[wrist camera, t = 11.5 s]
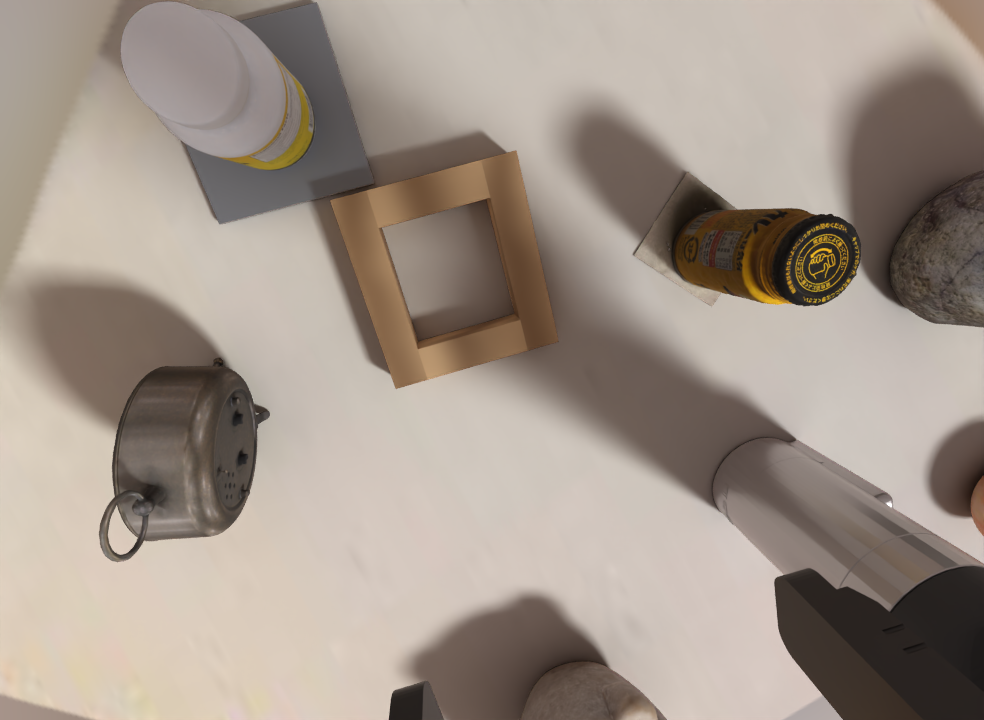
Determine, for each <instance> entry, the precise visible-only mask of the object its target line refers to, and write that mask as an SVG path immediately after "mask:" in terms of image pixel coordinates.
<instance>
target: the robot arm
mask: <svg viewBox="0 0 984 720" xmlns="http://www.w3.org/2000/svg"><path fill="white" fill-rule="evenodd" d="M713 497H714V501H715V504H716V506H717V507H718V509H719V510H720V511H721V512H722V513H723V514H724V515H725V516H726V517H727V518H728V520H729V521H730V522H731V523H732V524H734V525H735V526H736V527H737V528H738V529H739V530H740V531H741V532H742V533H743V534H744V535H745V536H746V538H747V539H748V540H749V541H750V542H751V543H752V544H753V545H754V546H755V547H756V548H757V549H758V550H759V551H760V552H761V553H762V554H763V555H764V556H765V557H766V558H767V559H768V560H769V561H770V562H771V563H772V564H773V565H774V566H775V567H777V568H778V569H779V570H780V571H781V572H782V573H783V574H784V575H783V576H779V577H777V578H776V579H775V582H774V584H775V596H776V607H777V618H778V628H779V632H780V635H781V638H782V640H783V642H784V645H785V646H786V648H787V650H788V652H789V653H790V655H791V656H792V658H793V659H794V660H795V662H796V663H797V664H798V665H799V667H800V668H801V669H802V670H803V671H804V673H805V674H806V675H807V676H808V678H809V679H810V680H811V681H812V682H813V684H814V685H815V686H816V687H817V688H818V690H819V691H820V692H821V693H822V695H823V696H824V697H825V698H826V699H827V700H828V702H829V703H830V704H831V706H832V707H833V708H834V709H835V710H836V712H837V713H838V714H839V715H840V717H841V718H842V719H843V720H984V564H983V563H981V562H980V561H978V560H977V559H975V558H973V557H972V556H970V555H968V554H967V553H965V552H964V551H962V550H960V549H959V548H957V547H955V546H954V545H952V544H951V543H949V542H947V541H946V540H944V539H942V538H941V537H939V536H937V535H936V534H934V533H932V532H931V531H929V530H928V529H926V528H924V527H923V526H921V525H919V524H918V523H916V522H915V521H913V520H911V519H910V518H908V517H907V516H905V515H903V514H902V513H900V512H898V511H897V510H895V509H894V508H893V500H892V497H891V496H890V495H889V494H888V493H886V492H885V491H883V490H881V489H880V488H878V487H876V486H875V485H873V484H871V483H869V482H868V481H866V480H864V479H863V478H861V477H859V476H858V475H856V474H854V473H853V472H851V471H849V470H848V469H846V468H844V467H842V466H841V465H839V464H837V463H836V462H834V461H832V460H831V459H829V458H827V457H826V456H824V455H822V454H821V453H819V452H817V451H815V450H814V449H812V448H810V447H809V446H807V445H805V444H804V443H802V442H800V441H799V440H797V441H794V442H785V441H783V440H780V439H777V438H759V439H755V440H752V441H749V442H747V443H745V444H743V445H741V446H739V447H738V448H737V449H735V450H734V451H733V452H731V453H730V454H729V456H728V457H727V458H726V459H725V460H724V461H723V463H722V464H721V466H720V467H719V469H718V471H717V473H716V475H715V478H714V483H713ZM389 720H444V719H443V716H442V714H441V711H440V709H439V706H438V704H437V701H436V699H435V696H434V694H433V691H432V689H431V686H430V684H429V682H428V681H424V682H421V683H417V684H414V685H411V686H407V687H404V688H401V689H397V690H395V691H394V692H393V693H392V697H391V704H390V714H389Z"/></svg>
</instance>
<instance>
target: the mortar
mask: <svg viewBox="0 0 984 720" xmlns="http://www.w3.org/2000/svg"><path fill="white" fill-rule="evenodd" d="M521 720H667V719H666V718H665V717H664V716H663V714H662V713H661V712H660V711H659V710H658V709H657V708H656V707H655V706H654V704H653V703H652V702H651V701H650V700H649V699H648V698H647V697H646V696H645V695H644V694H643V693H642V692H641V691H640V690H638V689H637V688H636V687H635V686H633V685H632V684H631V683H630V682H629V681H627V680H626V679H625V678H623V677H622V676H620V675H619V674H618V673H616V672H614V671H613V670H611V669H609V668H608V667H606V666H604V665H602V664H599V663H595V662H572V663H567V664H563V665H560V666H558V667H555V668H553V669H551V670H550V671H548V672H547V673H545V674H544V675H543V676H542V677H541V678H540V679H539V680H538V682H537V683H536V684H535V685H534V687H533V689H532V690H531V692H530V694H529V697H528V699H527V701H526V704H525V707H524V710H523V713H522V716H521Z"/></svg>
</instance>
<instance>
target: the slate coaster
mask: <svg viewBox="0 0 984 720" xmlns="http://www.w3.org/2000/svg"><path fill="white" fill-rule="evenodd" d="M239 22H240V23H242V24H243V25H245V26H246V27H247V28H249V29H250V30H251V31H252V32H253V33H255V34H256V35H257V36H258V37H259V39H260V40H261V41H262V42H263V43H264V44H265V45H266V46H267V47H268V49H269V50H270V51H271V52H272V53H273V54H274V55H275V56H276V57H277V59H278V60H279V61H280V62H281V63H282V64H283V65H284V66H285V67H286V69H287V70H288V71H289V72H290V73H291V74H292V75H293V76H294V77H295V78H296V79H297V80H298V81H299V82H300V84H301V85H302V86H303V87H304V89H305V91H306V92H307V94H308V96H309V98H310V100H311V103H312V105H313V109H314V113H315V121H316V130H315V136H314V140H313V143H312V145H311V147H310V149H309V151H308V152H307V154H306V155H305V156H304V157H303V158H302V159H301V160H300V161H299V162H297V163H296V164H294V165H292V166H290V167H288V168H285V169H281V170H261V169H257V168H253V167H250V166H246V165H243V164H239V163H236V162H233V161H229V160H226V159H222V158H219V157H216V156H212V155H209V154H206V153H203V152H201V151H199V150H196V149H194V148H192V147H190V146H189V145H187V144H186V143H185V145H186V147H187V150H188V152H189V154H190V157H191V159H192V161H193V164H194V166H195V168H196V171H197V173H198V175H199V178H200V180H201V182H202V185H203V187H204V189H205V192H206V194H207V196H208V199H209V201H210V203H211V206H212V208H213V210H214V213H215V215H216V217H217V220H218V222H219V224H226V223H229V222H233V221H237V220H241V219H244V218H248V217H252V216H256V215H259V214H263V213H267V212H271V211H274V210H278V209H282V208H286V207H289V206H293V205H297V204H300V203H304V202H308V201H312V200H315V199H319V198H323V197H327V196H330V195H334V194H338V193H342V192H345V191H349V190H353V189H357V188H360V187H364V186H368V185H372V184H375V182H374V179H373V176H372V173H371V170H370V166H369V163H368V160H367V157H366V154H365V151H364V148H363V144H362V141H361V138H360V135H359V132H358V129H357V125H356V122H355V119H354V116H353V113H352V110H351V107H350V103H349V100H348V97H347V94H346V91H345V88H344V84H343V81H342V78H341V75H340V72H339V69H338V66H337V62H336V59H335V56H334V53H333V50H332V47H331V43H330V40H329V37H328V34H327V31H326V28H325V25H324V21H323V18H322V15H321V12H320V9H319V6H318V4H317V2H316V3H312V4H308V5H304V6H300V7H296V8H292V9H287V10H283V11H279V12H275V13H271V14H267V15H263V16H259V17H255V18H251V19H247V20H243V21H239Z"/></svg>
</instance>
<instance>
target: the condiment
mask: <svg viewBox="0 0 984 720" xmlns="http://www.w3.org/2000/svg"><path fill="white" fill-rule="evenodd" d="M705 208H706V209H705ZM667 242H668V244H669V246H667ZM668 248H670V251H669V250H668ZM634 256H635V257H637V258H638V259H640V260H641V261H643V262H644V263H646V264H647V265H649V266H650V267H652V268H654V269H655V270H657V271H658V272H660V273H661V274H663V275H664V276H666V277H667V278H669V279H670V280H672V281H673V282H675V283H676V284H678V285H679V286H681V287H682V288H684V289H685V290H687V291H688V292H690V293H691V294H693V295H694V296H696V297H698V298H699V299H701V300H702V301H704V302H705V303H707V304H708V305H710V306H713V304H714V303H715V301H716V300H717V298H718V297H719V296H720V294H721V292H722V293H725V294H731V295H733V296H738V297H742V298H747V299H750V300H754V301H757V302H761V303H767V304H777V305H778V304H784V303H787V304H795V305H803V306H810V305H814V306H818V305H822V304H824V303H827V302H829V301H830V300H832V299H834V298H835V297H837V296H838V295H839V294H841V293H842V291H844V290H845V289H846V287H847V286H848V285H849V283H850V282H851V281H852V279H853V278H854V277H855V276H856V271H857V268H858V266H859V263H860V257H861V243H860V240H859V237H858V235H857V233H856V230H855V228H854V227H853V226H852V225H851V224H849V223H848V222H846V221H845V220H844V219H841V218H840V217H836V216H833V215H832V214H828V215H824V214H819V215H814V214H811V213H809V212H807V211H804V210H801V209H794V208H786V209H750V210H748V209H745V210H737V209H736V208H735V207H733V206H732V205H731V204H729V203H728V202H727V201H726V200H724V199H723V198H722V197H721V196H720V195H718V194H716V193H715V192H714V191H713V190H711V189H710V188H708V187H707V186H706V185H704V184H703V183H702V182H701V181H699V180H698V179H697V178H696V177H694V176H693V175H691V174H690V173H689V172H687V174H686V175H685V177H684V178H683V180H682V181H681V182H680V184H679V185H678V187H677V188H676V190H675V191H674V193H673V194H672V196H671V198H670V199H669V201H668V202H667V204H666V205H665V207H664V208H663V210H662V212H661V213H660V215H659V216H658V218H657V219H656V220H655V222H654V224H653V226H652V228H651V229H650V231H649V233H648V234H647V236H646V237H645V239H644V240H643V242H642V244H641V245H640V247H639V249H638V250H637V252H636V253H635V255H634Z"/></svg>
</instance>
